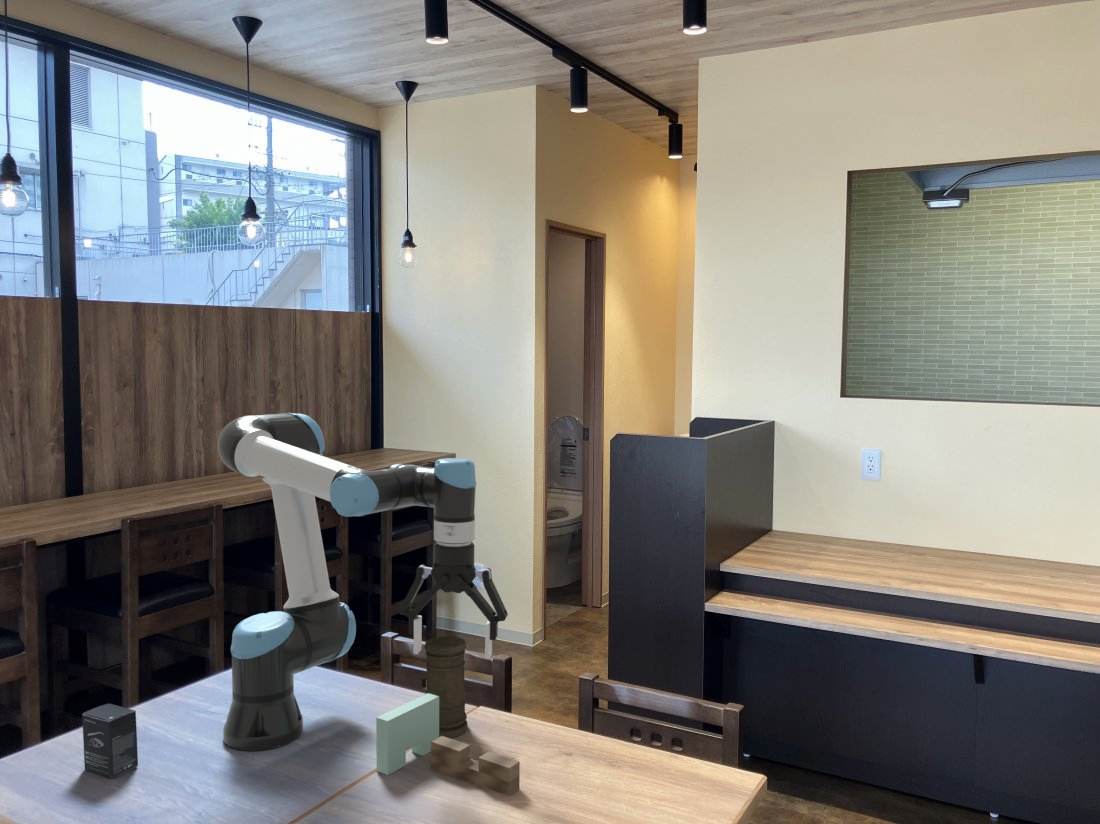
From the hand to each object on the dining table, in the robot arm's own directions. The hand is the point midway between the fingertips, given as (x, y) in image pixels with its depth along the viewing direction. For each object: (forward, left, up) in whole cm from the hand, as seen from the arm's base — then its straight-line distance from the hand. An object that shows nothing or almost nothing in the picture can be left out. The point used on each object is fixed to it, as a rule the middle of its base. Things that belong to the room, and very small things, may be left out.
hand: (452, 654), depth 158 cm
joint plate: (-7, -4, -20) cm, 22 cm away
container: (-10, +10, -20) cm, 25 cm away
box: (-49, -38, -20) cm, 66 cm away
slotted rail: (+8, -3, -20) cm, 22 cm away
